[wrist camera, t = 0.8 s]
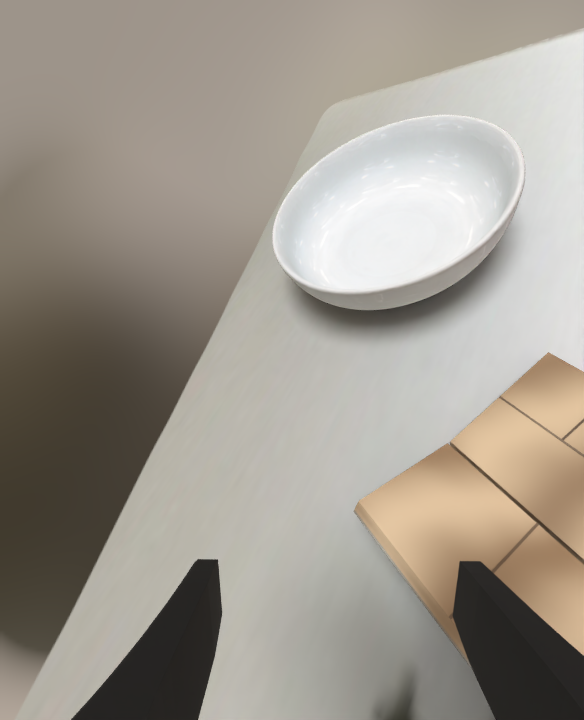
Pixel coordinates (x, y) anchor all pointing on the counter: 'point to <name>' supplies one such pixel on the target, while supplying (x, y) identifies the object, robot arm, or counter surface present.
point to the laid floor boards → (536, 448)
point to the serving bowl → (400, 211)
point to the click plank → (471, 543)
